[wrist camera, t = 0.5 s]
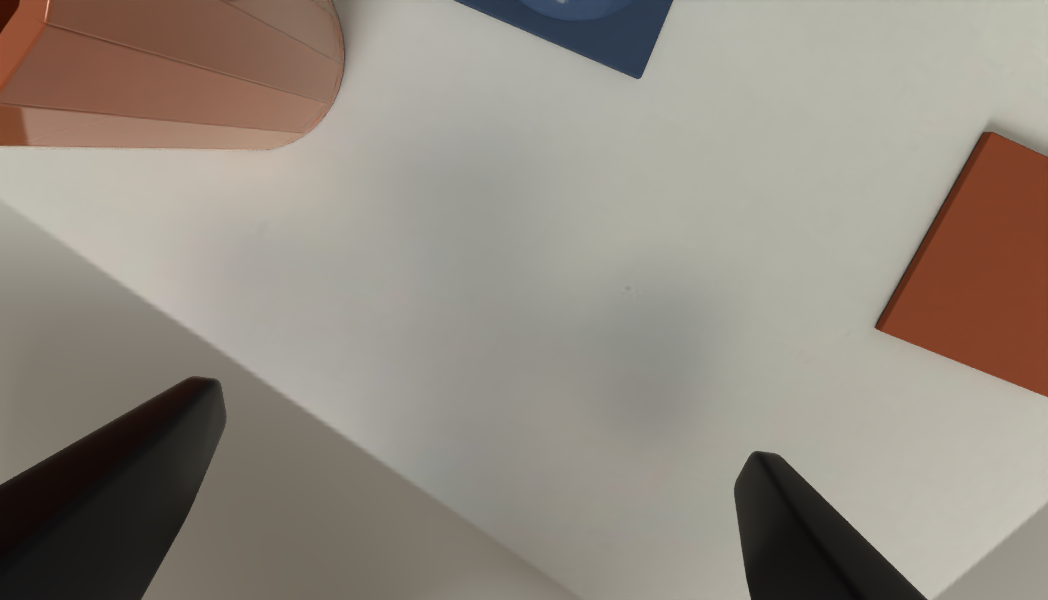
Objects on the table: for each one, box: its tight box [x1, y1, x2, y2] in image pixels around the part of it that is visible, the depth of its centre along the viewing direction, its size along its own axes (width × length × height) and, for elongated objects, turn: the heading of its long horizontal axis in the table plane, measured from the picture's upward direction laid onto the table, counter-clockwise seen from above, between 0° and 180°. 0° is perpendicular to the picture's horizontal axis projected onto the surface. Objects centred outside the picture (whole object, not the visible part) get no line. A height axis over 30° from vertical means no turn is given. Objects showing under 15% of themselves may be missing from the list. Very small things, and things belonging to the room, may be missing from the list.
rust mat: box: [875, 132, 1048, 397], centre depth 22 cm, size 8×8×1 cm
